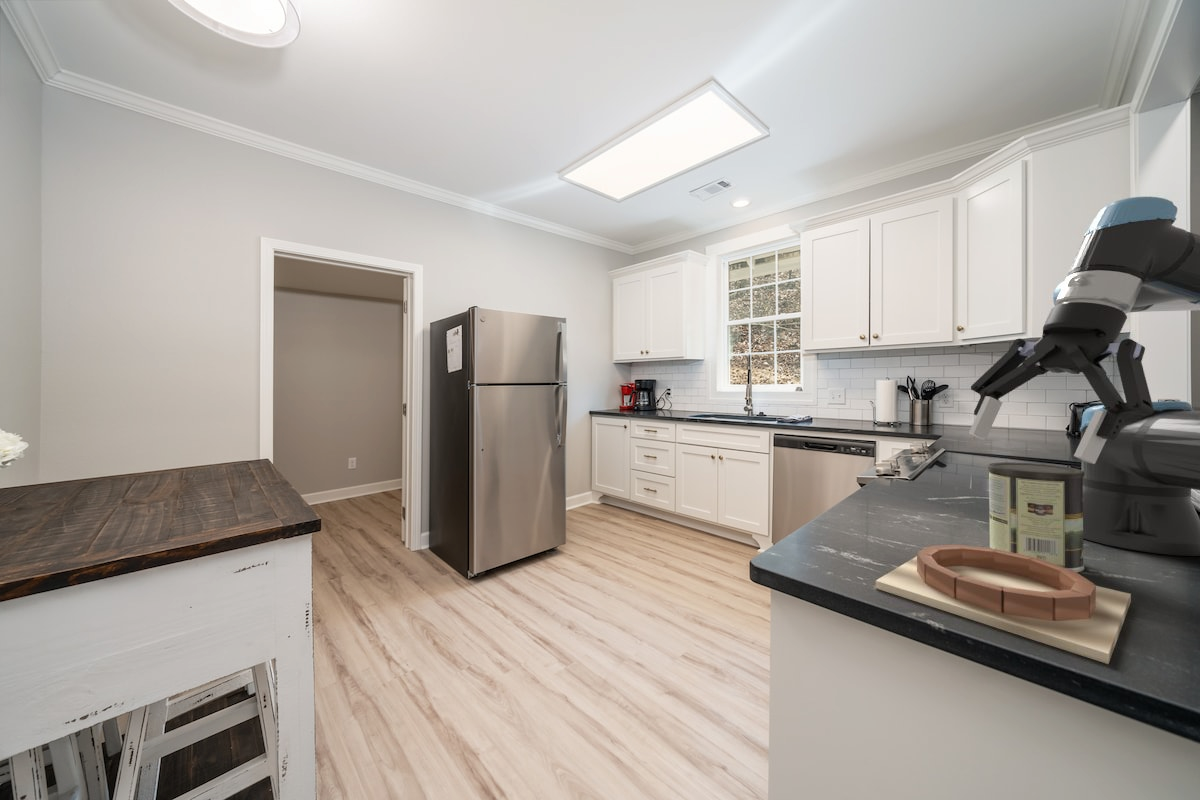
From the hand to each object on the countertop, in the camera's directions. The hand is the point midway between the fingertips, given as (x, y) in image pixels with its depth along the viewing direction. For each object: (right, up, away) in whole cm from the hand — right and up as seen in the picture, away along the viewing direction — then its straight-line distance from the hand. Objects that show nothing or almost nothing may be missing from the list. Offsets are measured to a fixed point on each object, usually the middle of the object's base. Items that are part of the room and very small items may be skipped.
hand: (1024, 447), depth 63 cm
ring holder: (-12, -18, -8) cm, 23 cm away
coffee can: (+4, -18, +3) cm, 18 cm away
